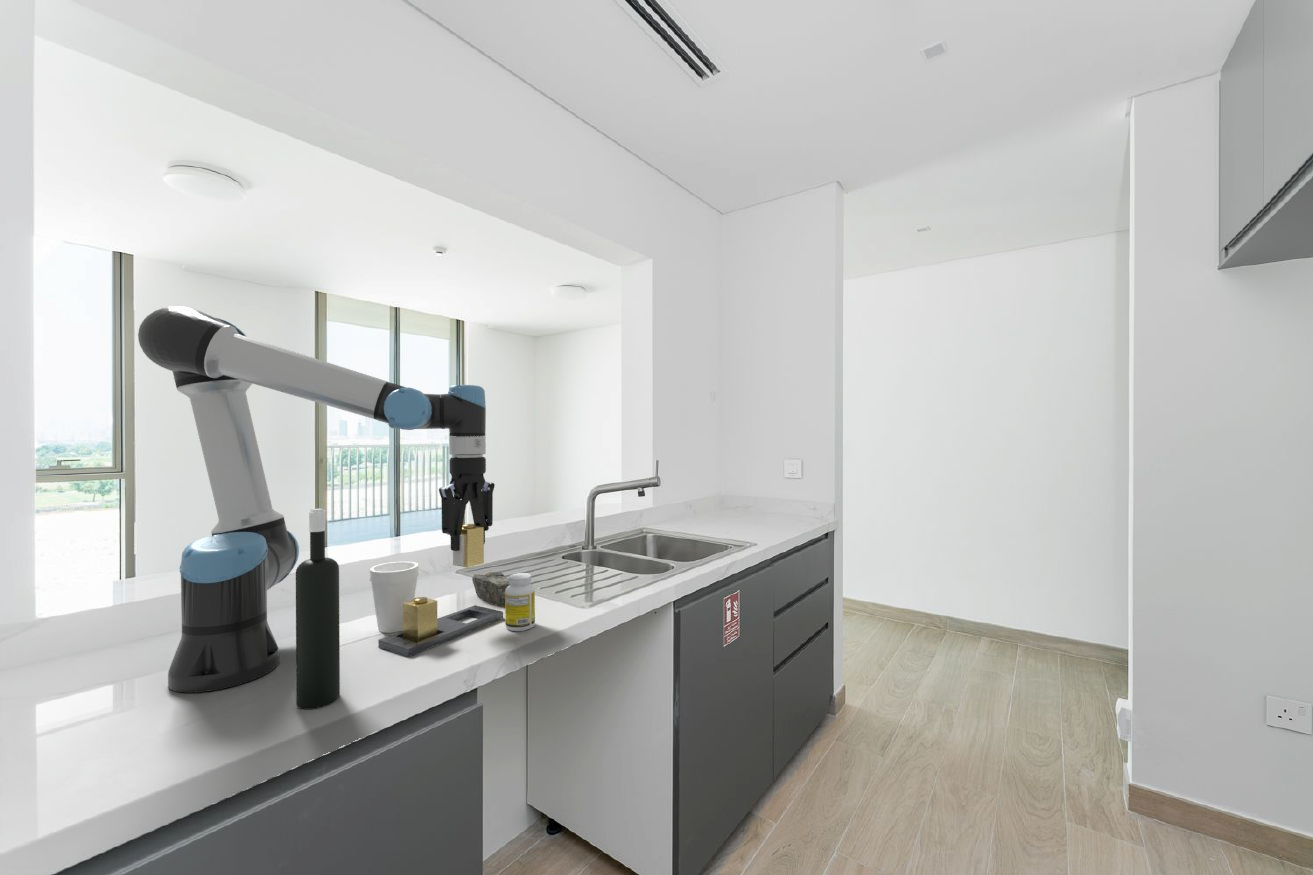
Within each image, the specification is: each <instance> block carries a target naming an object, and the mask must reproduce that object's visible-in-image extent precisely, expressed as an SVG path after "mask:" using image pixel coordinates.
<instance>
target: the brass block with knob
mask: <svg viewBox="0 0 1313 875" xmlns="http://www.w3.org/2000/svg"><path fill="white" fill-rule="evenodd" d="M437 619H438V600H436V599H432V598H428V597H426V596H420V597H415V598H414V599H413V600H412V601H409V602H405V603H403V630H402V631H403V639H406V640H410V641H413V642H416V643H417V642H420V641H422V640H425V639H427V638H430V637H433V636H435V635H437Z"/></svg>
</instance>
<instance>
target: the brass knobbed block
mask: <svg viewBox="0 0 1313 875" xmlns="http://www.w3.org/2000/svg"><path fill="white" fill-rule="evenodd" d="M461 535H464V566H460V567H461V568H471V567H476V566H479V565H482V564H484V563H485V562H484V561H485V557H484V556H485V555H484V554H485V551H484V549H485V546H484V545H485V544H484V527H480V526H475V524H474V523H463V526H462V531H461ZM454 566H456V567H458V566H457V565H454Z"/></svg>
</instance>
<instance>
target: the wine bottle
mask: <svg viewBox="0 0 1313 875" xmlns="http://www.w3.org/2000/svg"><path fill="white" fill-rule="evenodd" d="M308 514H309V515H308V516H309V517H308V518H309V519H308V520H309V522H308V523H309V524H308V526H309V528H308V529H309V530H308V532H309V548H310V549H309V558H308V559H305V560H304V561H302V562H301V563H300V564H298V566H297V568H296V569H295V658H296V659H295V669H296V670H295V677H296V678H295V680H296V683H295V684H296V685H295V686H296V687H295V688H296V689H295V690H296V697H295V698H296V701H295V702H296V704H295V705H296V707H297V708H299V709H301V710H313V709H319V708H323V707H326V706H329V705H331V704H333V703H334V702H336V701H337V700H338V699H339V698H340V697H341V694H340V693H341V690H340V689H341V686H340V684H341V682H340V681H341V679H340V678H341V676H340V675H341V673H340V671H341V670H340V669H341V667H340V665H341V664H340V663H341V662H340V661H341V660H340V658H341V657H340V648H341V646H340V644H341V643H340V565H339V563H338V562H337V561H336V560H335V559H333V558H331V557H326V529H327V528H326V524H327V523H326V510H325V509H324V508H321V507H320V508H313V509H312V508H311V509H309V513H308Z"/></svg>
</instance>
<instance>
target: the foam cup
mask: <svg viewBox="0 0 1313 875" xmlns="http://www.w3.org/2000/svg"><path fill="white" fill-rule="evenodd" d="M419 570H420V568H419V563H418V562H415V561H409V560H407V561H392V562H391V561H390V562H385V563H380V564H376V565H374V566H372V567H370V568H369V581H370V584H371V591H372V597H373V604H374V605H373V606H374V610H375V611H374V612H375V616H376V624H377V628H378V631H379V632H381V633H387V634H388V633H398V632H401V631H403V603H405V602H409V601H412V600H413V599H415V598H416V591H417V582H418V577H419Z"/></svg>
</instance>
